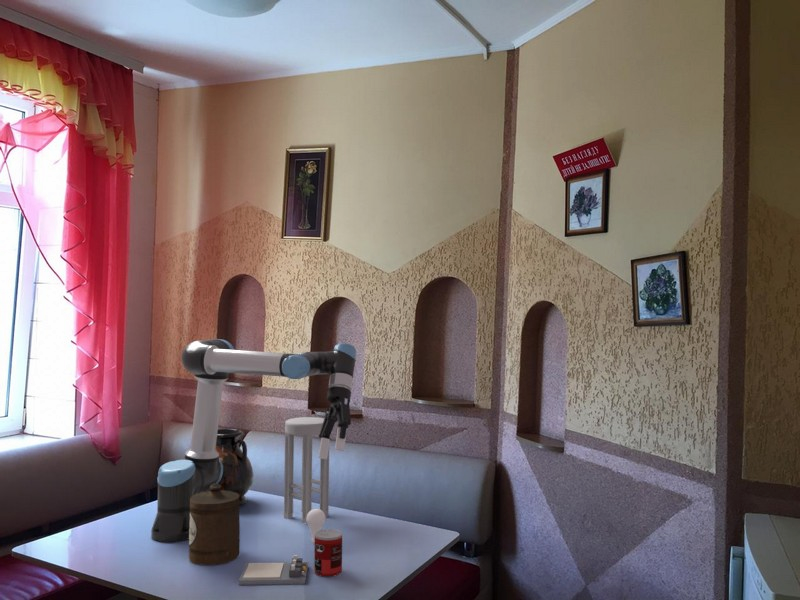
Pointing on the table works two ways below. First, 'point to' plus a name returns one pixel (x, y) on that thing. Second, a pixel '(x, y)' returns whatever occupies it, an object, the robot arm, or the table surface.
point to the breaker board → (275, 573)
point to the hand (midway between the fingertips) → (330, 454)
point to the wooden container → (214, 527)
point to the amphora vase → (234, 463)
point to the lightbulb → (315, 521)
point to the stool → (304, 467)
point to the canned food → (328, 552)
